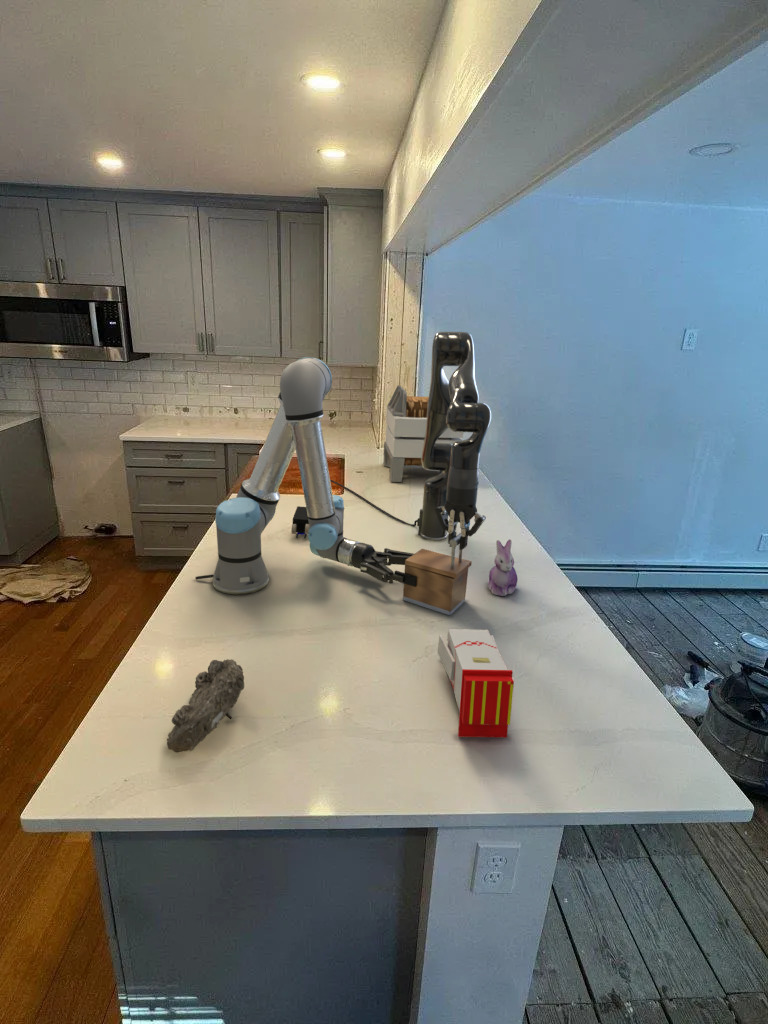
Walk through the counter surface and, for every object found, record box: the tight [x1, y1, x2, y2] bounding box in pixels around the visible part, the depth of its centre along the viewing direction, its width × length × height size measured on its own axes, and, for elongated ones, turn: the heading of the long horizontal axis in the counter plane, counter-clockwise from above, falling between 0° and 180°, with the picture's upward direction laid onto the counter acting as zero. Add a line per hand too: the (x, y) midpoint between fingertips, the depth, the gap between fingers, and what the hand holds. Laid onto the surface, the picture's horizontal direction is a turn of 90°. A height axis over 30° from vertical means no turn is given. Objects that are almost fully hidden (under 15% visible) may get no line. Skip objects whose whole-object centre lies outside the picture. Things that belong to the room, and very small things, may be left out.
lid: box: [405, 532, 473, 578], centre depth 150 cm, size 15×10×9 cm, turn 58°
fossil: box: [166, 658, 245, 754], centre depth 106 cm, size 22×10×15 cm
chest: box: [402, 564, 469, 616], centre depth 153 cm, size 14×10×11 cm
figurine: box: [487, 538, 518, 597], centre depth 160 cm, size 9×10×15 cm
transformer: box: [383, 384, 464, 483], centre depth 268 cm, size 34×33×41 cm
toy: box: [437, 628, 515, 738], centre depth 117 cm, size 12×13×30 cm
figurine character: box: [291, 505, 310, 539], centre depth 196 cm, size 7×8×15 cm
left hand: (425, 574), depth 154 cm, fingers closed on chest, 9 cm apart
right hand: (457, 547), depth 147 cm, fingers closed on lid, 2 cm apart
